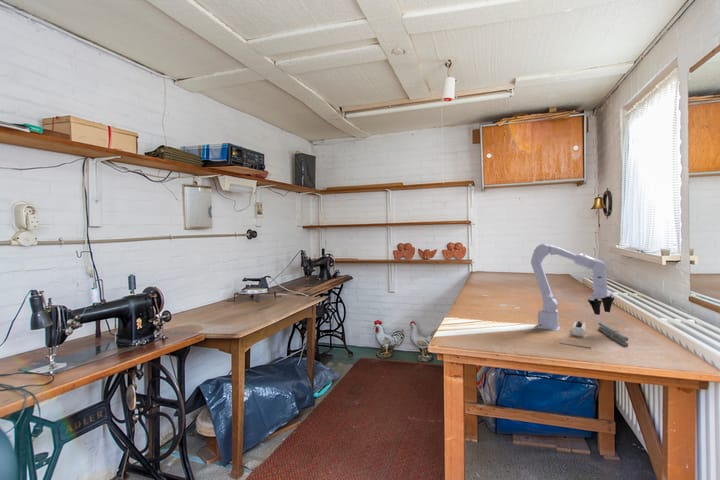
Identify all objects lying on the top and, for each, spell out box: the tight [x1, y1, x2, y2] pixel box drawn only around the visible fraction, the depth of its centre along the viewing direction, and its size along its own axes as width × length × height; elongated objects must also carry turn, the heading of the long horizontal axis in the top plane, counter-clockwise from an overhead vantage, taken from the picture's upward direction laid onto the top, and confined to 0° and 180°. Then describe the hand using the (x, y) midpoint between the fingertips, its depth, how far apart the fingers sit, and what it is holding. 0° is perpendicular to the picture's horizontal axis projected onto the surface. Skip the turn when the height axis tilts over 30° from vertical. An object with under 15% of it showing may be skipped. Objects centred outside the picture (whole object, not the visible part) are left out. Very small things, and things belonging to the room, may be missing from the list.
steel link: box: [571, 321, 586, 337], centre depth 176 cm, size 4×12×4 cm, turn 144°
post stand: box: [567, 321, 591, 340], centre depth 176 cm, size 8×16×6 cm, turn 144°
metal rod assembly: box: [597, 321, 629, 347], centre depth 169 cm, size 26×3×5 cm, turn 167°
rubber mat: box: [558, 342, 592, 350], centre depth 164 cm, size 12×12×1 cm
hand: (602, 313), depth 175 cm, fingers open, 7 cm apart
